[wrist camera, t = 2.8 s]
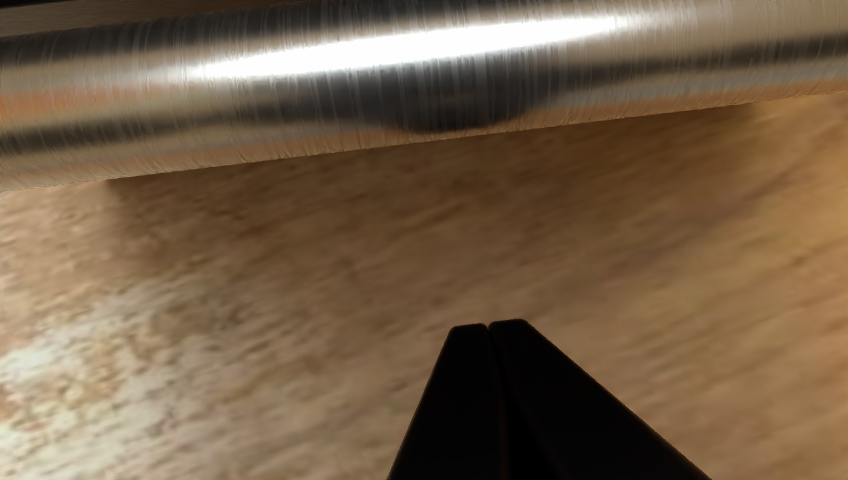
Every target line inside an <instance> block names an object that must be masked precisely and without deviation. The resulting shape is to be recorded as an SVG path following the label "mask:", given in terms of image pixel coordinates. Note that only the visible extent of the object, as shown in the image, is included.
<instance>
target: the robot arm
mask: <svg viewBox="0 0 848 480" xmlns="http://www.w3.org/2000/svg"><path fill="white" fill-rule="evenodd" d="M386 480H712V479H710V478H709V477H708V476H707V475H706V474H705V473H703V472H702V471H701V470H700V469H699V468H698V467H696V466H695V465H694V464H693V463H692V462H691V461H689V460H688V459H687V458H686V457H685V456H684V455H682V454H681V453H680V452H679V451H678V450H677V449H675V448H674V447H673V446H672V445H671V444H670V443H668V442H667V441H666V440H665V439H664V438H662V437H661V436H660V435H659V434H658V433H657V432H655V431H654V430H653V429H652V428H651V427H650V426H648V425H647V424H646V423H645V422H644V421H643V420H641V419H640V418H639V417H638V416H637V415H636V414H634V413H633V412H632V411H631V410H630V409H629V408H627V407H626V406H625V405H624V404H623V403H622V402H620V401H619V400H618V399H617V398H616V397H615V396H613V395H612V394H611V393H610V392H609V391H608V390H606V389H605V388H604V387H603V386H602V385H601V384H599V383H598V382H597V381H596V380H595V379H594V378H592V377H591V376H590V375H589V374H588V373H587V372H585V371H584V370H583V369H582V368H581V367H580V366H578V365H577V364H576V363H575V362H574V361H573V360H571V359H570V358H569V357H568V356H567V355H565V354H564V353H563V352H562V351H561V350H560V349H558V348H557V347H556V346H555V345H554V344H553V343H551V342H550V341H549V340H548V339H547V338H546V337H544V336H543V335H542V334H541V333H540V332H539V331H537V330H536V329H535V328H534V327H533V326H532V325H530V324H529V323H528V322H527V321H526V320H523V319H519V318H518V319H510V320H501V321H494V322H491V323H490V324H489V326H488V328H487V326H486V325H485V324H483V323H477V324H468V325H460V326H454V327H452V328H451V329H450V331H449V333H448V335H447V337H446V340H445V342H444V345H443V347H442V349H441V352H440V354H439V356H438V359H437V361H436V363H435V366H434V368H433V371H432V373H431V375H430V378H429V380H428V382H427V385H426V387H425V389H424V392H423V394H422V397H421V399H420V401H419V404H418V406H417V408H416V411H415V413H414V416H413V418H412V420H411V423H410V425H409V427H408V430H407V432H406V434H405V437H404V439H403V442H402V444H401V446H400V449H399V451H398V453H397V456H396V458H395V461H394V463H393V465H392V468H391V470H390V472H389V475H388V477H387V479H386Z"/></svg>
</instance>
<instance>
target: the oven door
mask: <svg viewBox="0 0 848 480" xmlns="http://www.w3.org/2000/svg"><path fill="white" fill-rule="evenodd" d="M847 91H848V0H0V192H5V191H14V190H22V189H31V188H39V187H47V186H56V185H64V184H73V183H81V182H90V181H98V180H106V179H115V178H123V177H132V176H140V175H148V174H157V173H165V172H174V171H182V170H190V169H199V168H207V167H216V166H224V165H233V164H241V163H249V162H258V161H266V160H275V159H283V158H291V157H300V156H308V155H317V154H325V153H333V152H342V151H350V150H359V149H367V148H376V147H384V146H392V145H401V144H409V143H418V142H426V141H434V140H443V139H451V138H460V137H468V136H476V135H485V134H493V133H502V132H510V131H519V130H527V129H535V128H544V127H552V126H561V125H569V124H577V123H586V122H594V121H603V120H611V119H619V118H628V117H636V116H645V115H653V114H662V113H670V112H678V111H687V110H695V109H704V108H712V107H720V106H729V105H737V104H746V103H754V102H762V101H771V100H779V99H788V98H796V97H804V96H813V95H821V94H830V93H838V92H847Z"/></svg>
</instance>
